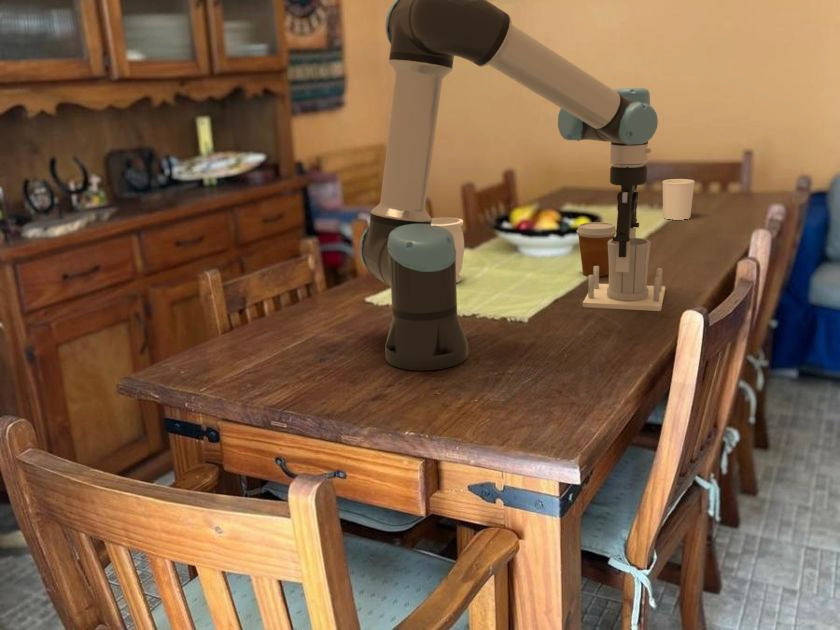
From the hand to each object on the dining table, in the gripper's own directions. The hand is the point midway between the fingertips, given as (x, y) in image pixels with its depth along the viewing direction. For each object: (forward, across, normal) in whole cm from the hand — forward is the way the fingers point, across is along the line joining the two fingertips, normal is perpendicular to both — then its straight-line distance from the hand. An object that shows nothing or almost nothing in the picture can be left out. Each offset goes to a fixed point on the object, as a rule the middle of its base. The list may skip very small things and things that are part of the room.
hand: (625, 264), depth 175 cm
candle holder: (+8, +96, -7) cm, 97 cm away
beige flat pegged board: (+8, 0, 0) cm, 8 cm away
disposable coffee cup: (+8, +21, +9) cm, 24 cm away
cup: (+7, 0, 0) cm, 7 cm away
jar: (+8, +8, +44) cm, 45 cm away
